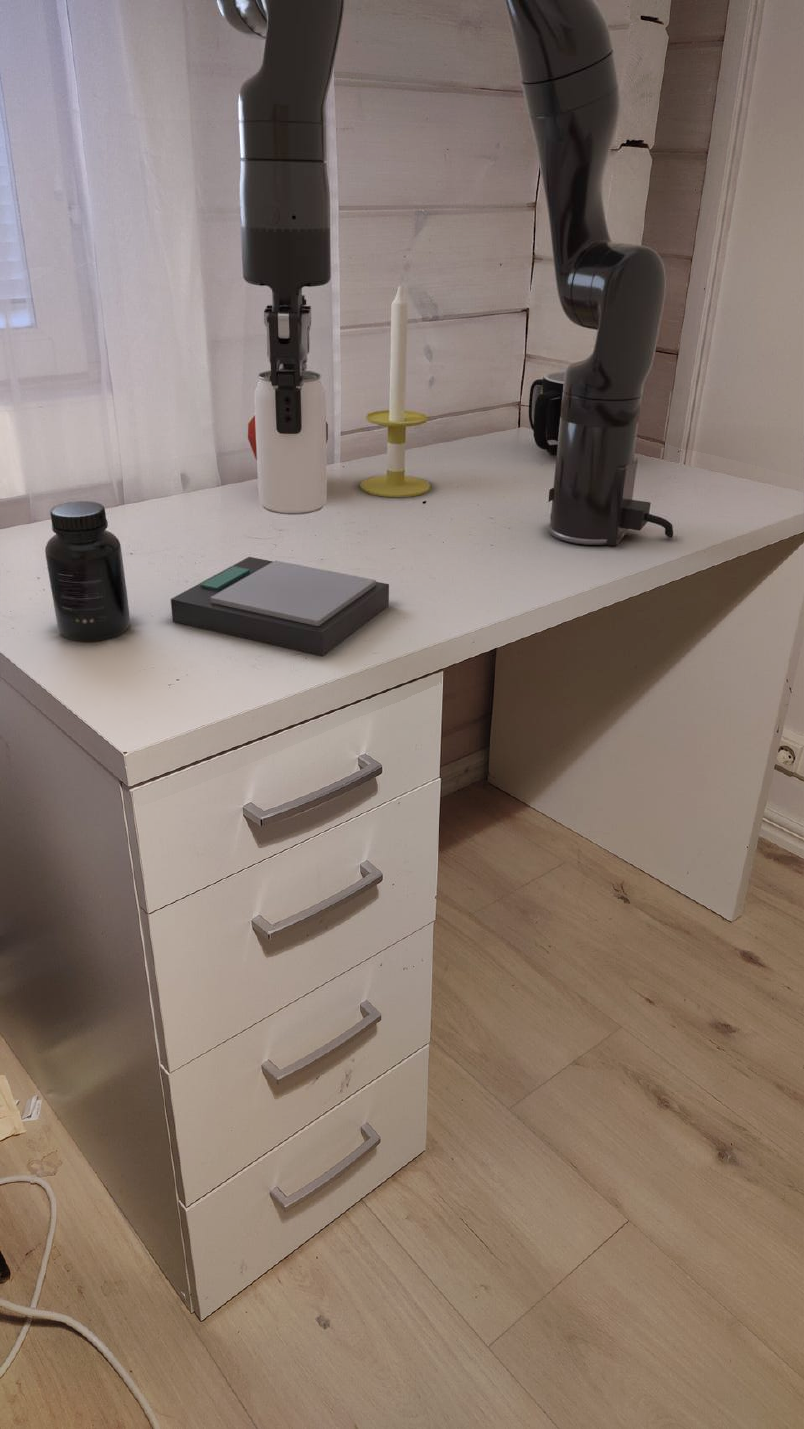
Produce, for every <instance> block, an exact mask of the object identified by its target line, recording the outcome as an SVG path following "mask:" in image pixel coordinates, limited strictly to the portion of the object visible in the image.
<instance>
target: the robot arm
mask: <svg viewBox="0 0 804 1429" xmlns="http://www.w3.org/2000/svg"><path fill="white" fill-rule="evenodd" d="M215 1H216V4H217V7H218V9H219V11H220V14H221V16H222V17H223V19H224V20H225V21H226V22H227V23H228V25H229V26H230V27H231V28H233V29H234V31H236V32H238V33H239V34H241V35H242V36H245V37H247V38H249V39H252V40H253V39H254V40H259V41H264V48H263V49H264V50H263V56H262V61H261V65H260V67H259V69H258V70H257V71H256V72H255V73H253V74H252V75H251V76H249V77H248V78H246V79H245V80H244V81H243V82H242V84H241V86H240V88H239V91H238V98H237V100H238V102H237V113H238V114H237V116H238V137H239V157H240V159H241V160H240V168H239V169H240V170H239V185H238V198H239V199H238V200H239V220H240V221H239V223H240V243H241V244H240V246H241V264H242V278H243V279H244V281H245V282H246V283H247V284H249V285H255V286H260V287H263V286H264V287H265V286H266V287H269V288H270V291H271V292H272V294H271V302H272V303H271V304H266V305H265V308H263V324H264V329H265V331H266V356H267V361H268V363H269V364H270V371H271V375H270V382H271V384H272V386H273V389H274V390H275V404H276V429H277V431H278V432H279V433H281V434H298V433H300V431H301V428H302V419H301V390H302V386H303V380H302V370H307V369H308V364H307V362H308V354H309V353H310V346H311V343H310V342H311V340H310V331H311V327H312V305H307V299H306V297H305V296H306V295H304V294H303V288H304V287H308V288H311V287H313V288H314V287H320V286H325V285H327V284H328V283H329V282H330V281H331V278H332V275H331V274H332V272H331V271H332V270H331V269H332V266H331V265H332V264H331V260H332V259H331V193H330V183H329V177H328V167H327V166H328V165H327V164H328V163H327V116H326V104H327V99H328V94H329V90H330V86H331V82H332V79H333V74H334V68H335V62H336V57H337V53H338V48H339V47H338V46H339V41H340V36H341V31H342V27H343V26H342V25H343V20H344V10H345V0H215ZM504 5H505V9H506V14H507V18H508V22H509V27H510V31H511V36H512V40H513V45H514V51H515V55H516V60H517V67H518V72H519V78H520V83H521V88H522V94H523V99H524V102H525V108H526V113H527V117H528V120H529V124H530V128H531V131H532V132H531V133H532V136H533V141H534V144H535V149H536V155H537V159H538V165H539V172H540V176H541V182H542V187H543V192H544V198H545V204H546V209H547V215H548V216H547V217H548V223H549V229H550V230H549V232H550V239H551V249H552V250H551V251H552V259H553V260H552V261H553V268H554V277H555V284H556V290H557V297H558V299H559V304H560V306H561V308H562V310H563V312H564V314H565V316H566V317H567V319H569V321H571V322H572V323H573V324H575V325H576V326H579V327H582V328H585V329H589V330H595V331H597V332H596V338H595V342H594V346H593V351H592V353H591V354H590V355H589V356H588V357H587V358H585V359H582V360H579V361H576V362H573V363H571V364H570V365H568V366H567V367H566V369H565V371H566V372H565V376H564V386H563V395H562V406H561V417H560V426H559V436H558V446H557V456H555V457H556V458H555V468H554V479H553V487H552V488H550V489H549V491H548V501H547V503H550V502H551V508H550V509H551V510H550V516H549V524H548V533H549V534H550V535H551V536H552V537H554V538H556V539H558V540H561V541H564V542H568V543H572V544H577V545H586V546H613V547H614V546H617V545H618V544H619V543H620V542H621V541H622V540H624V538H625V536H626V535H627V534H628V533H629V530H632V531H638V532H640V531H642V529H643V528H644V527H645V526H646V525H647V523H652V524H655V525H657V526H661V528H664V535H665V536H666V537H667V538H669V539H672V538H674V528H673V526H674V525H673V524H672V522H670V521H669V520H668V519H665V518H664V517H661V516H658V515H654V514H651V513H650V510H651V504H652V503H651V502H650V501H644V500H636V499H633V498H634V490H635V489H634V488H635V482H636V475H637V469H638V468H637V467H638V457H636V456H635V450H636V442H637V436H638V435H637V434H638V429H639V428H638V427H639V419H640V412H641V407H642V406H641V405H642V398H643V394H644V393H643V392H644V388H645V387H644V386H645V382H646V381H647V378H648V376H649V374H650V372H651V369H652V367H653V364H654V360H655V355H656V349H657V348H656V347H657V344H658V338H659V333H660V329H661V328H660V327H661V322H662V317H663V311H664V307H665V300H666V292H667V277H666V276H667V275H666V269H665V264H664V262H663V260H662V257H661V256H660V254H659V253H658V252H657V251H656V250H655V249H653V248H651V247H649V246H646V245H641V244H632V243H624V242H623V243H622V242H613V241H612V239H611V236H610V232H609V228H608V224H607V219H606V213H605V206H604V194H603V193H604V192H603V187H604V186H603V184H604V177H605V171H606V167H607V164H608V160H609V158H610V154H611V150H612V148H613V143H614V140H615V137H616V132H617V129H618V125H619V119H620V114H621V92H620V90H621V89H620V85H619V78H618V72H617V64H616V58H615V52H614V45H613V40H612V35H611V32H610V28H609V26H608V22H607V20H606V18H605V16H604V14H603V13H602V12H603V11H602V10H601V9H600V7H599V5H598V3H597V2H596V1H595V0H504ZM286 369H290V370H294V371H279V370H286Z"/></svg>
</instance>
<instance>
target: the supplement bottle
mask: <svg viewBox="0 0 804 1429" xmlns="http://www.w3.org/2000/svg"><path fill="white" fill-rule="evenodd" d="M49 514H50V518H51V519H50V520H51V530H52V532H53V533H54V535H52V537H50V538H49V539H48V541H47V542H46V545H45V547H44V553H45V560H46V566H47V573H48V577H49V583H50V590H51V591H50V592H51V596H52V602H53V608H54V614H55V620H56V624H57V629H58V631H59V633H60V634H61V635H62V636H64V637H65V638H67V639H70V640H72V641H76V642H77V641H78V642H97V641H98V642H99V641H104V640H108V639H112V638H115V637H117V636H119V635H121V634H123V633H124V632H125V631H126V630H127V629H128V628H129V626H130V623H131V616H130V615H131V614H130V607H129V598H128V590H127V583H126V574H125V567H124V560H123V553H122V552H123V550H122V545H121V542H120V540H119V538H117V535H115V534H114V533H112V532H111V531H109V530H107V529H108V527H109V523H108V519H107V515H106V508H105V506H104V505H103V504H102V503H99V502H95V501H90V500H89V501H87V500H79V501H78V500H77V501H76V500H75V501H70V502H65V503H60V504H57V505H55V506H53V507H52V508H51V509H50V513H49Z"/></svg>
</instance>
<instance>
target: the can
mask: <svg viewBox="0 0 804 1429" xmlns="http://www.w3.org/2000/svg"><path fill="white" fill-rule="evenodd" d="M279 371H294V370H290V369H286V370H279ZM270 375H271V370H266V371H262V372H259V373H258V375H257V377H258V382H257V385H256V387H255V389H254V397H253V398H254V400H253V401H254V416H255V427H256V449H257V461H256V467H257V487H258V502H259V504H260V506H262V508H263V509H264V510H266V511H267V512H270V513H274V514H279V515H290V516H291V515H292V516H293V515H295V516H296V515H307V514H312V513H315V512H319V511H320V510H322V509H323V508H324V506H326V504H327V499H328V497H327V496H328V488H327V487H328V483H327V482H328V478H327V477H328V476H327V474H328V473H327V472H328V471H327V470H328V468H327V463H328V462H327V461H328V460H327V443H326V422H327V401H326V400H327V398H326V392H325V389H324V386H323V385H322V382H321V376H322V375H321V374H320V373H318V372H315V371H312V370H307V369H305V370H302V380H303V386H302V390H301V419H302V428H301V431H300V433H298V434H281V433H279V432H278V431H277V429H276V404H275V390H274V389H273V386H272V384H271V382H270Z"/></svg>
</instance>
